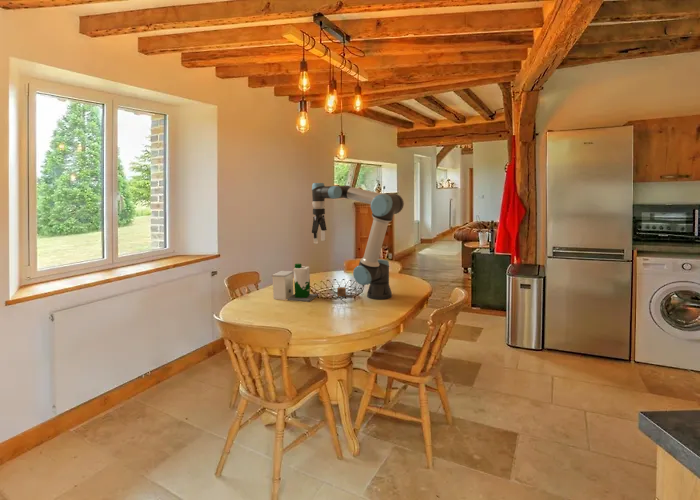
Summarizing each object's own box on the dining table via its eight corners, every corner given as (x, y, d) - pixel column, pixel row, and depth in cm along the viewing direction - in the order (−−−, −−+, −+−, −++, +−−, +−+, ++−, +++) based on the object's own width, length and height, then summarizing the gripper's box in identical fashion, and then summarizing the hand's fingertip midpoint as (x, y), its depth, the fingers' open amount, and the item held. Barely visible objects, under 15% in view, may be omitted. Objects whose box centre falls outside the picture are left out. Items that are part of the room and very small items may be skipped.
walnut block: (345, 295, 274) (345, 287, 273) (345, 297, 269) (345, 289, 268) (337, 295, 274) (337, 287, 273) (337, 297, 269) (337, 289, 268)
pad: (317, 295, 273) (317, 294, 273) (309, 301, 259) (309, 300, 259) (296, 294, 277) (296, 293, 276) (287, 300, 263) (287, 298, 263)
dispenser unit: (294, 294, 276) (293, 271, 274) (286, 299, 264) (285, 275, 262) (281, 294, 279) (280, 270, 276) (272, 299, 267) (271, 274, 264)
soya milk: (297, 294, 273) (296, 262, 270) (311, 294, 271) (310, 263, 268) (293, 298, 265) (292, 265, 261) (307, 298, 263) (306, 265, 260)
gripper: (319, 206, 284) (320, 239, 287) (305, 209, 260) (306, 244, 264) (330, 206, 282) (331, 239, 285) (317, 209, 258) (318, 245, 262)
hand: (319, 242), depth 274 cm, fingers open, 13 cm apart
